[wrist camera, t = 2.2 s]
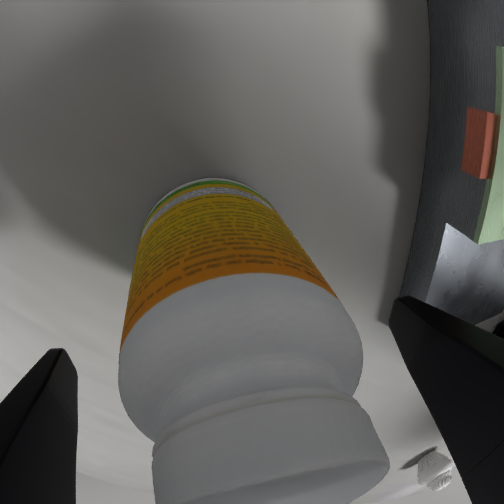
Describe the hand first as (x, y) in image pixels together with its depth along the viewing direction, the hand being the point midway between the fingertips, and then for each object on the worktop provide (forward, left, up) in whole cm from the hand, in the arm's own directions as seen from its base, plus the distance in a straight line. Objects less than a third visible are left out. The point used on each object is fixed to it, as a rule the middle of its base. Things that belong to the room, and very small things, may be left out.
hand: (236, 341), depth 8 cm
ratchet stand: (+5, -14, -5) cm, 16 cm away
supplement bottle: (0, 0, -6) cm, 6 cm away
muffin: (-41, -28, -6) cm, 50 cm away
